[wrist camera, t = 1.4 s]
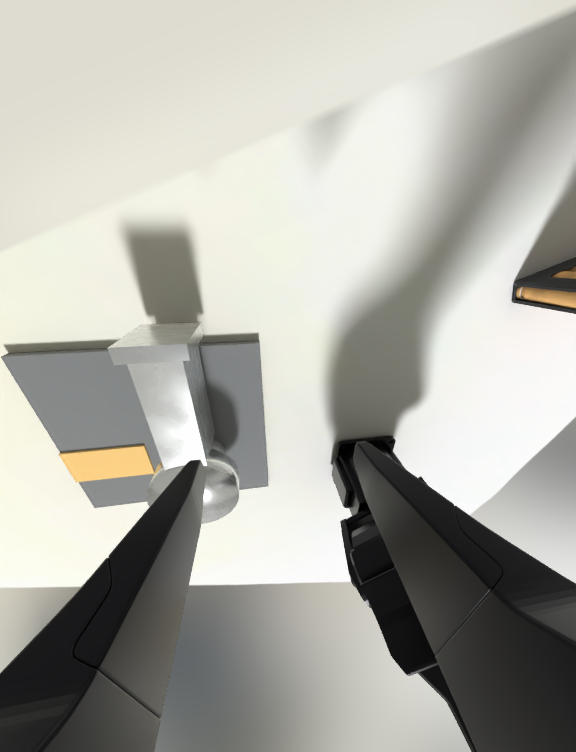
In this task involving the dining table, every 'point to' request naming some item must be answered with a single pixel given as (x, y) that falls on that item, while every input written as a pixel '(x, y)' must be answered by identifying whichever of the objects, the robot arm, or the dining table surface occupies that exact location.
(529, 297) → the ammunition clip
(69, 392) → the base
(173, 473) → the elbow
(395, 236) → the dining table surface
